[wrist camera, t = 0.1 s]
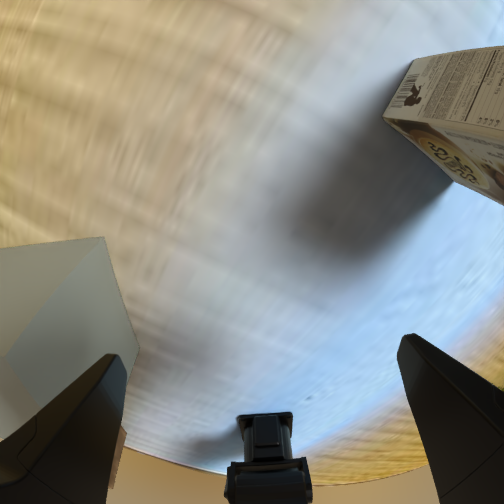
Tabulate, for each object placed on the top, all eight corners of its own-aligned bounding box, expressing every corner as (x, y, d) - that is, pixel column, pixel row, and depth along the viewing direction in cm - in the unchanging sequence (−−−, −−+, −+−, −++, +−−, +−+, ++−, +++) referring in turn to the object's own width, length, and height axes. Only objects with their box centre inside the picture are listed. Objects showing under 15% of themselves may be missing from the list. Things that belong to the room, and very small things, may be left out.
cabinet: (140, 349, 28) (101, 472, 15) (8, 338, 28) (-42, 415, 15) (104, 236, 22) (4, 356, 10) (-30, 253, 23) (-105, 322, 10)
